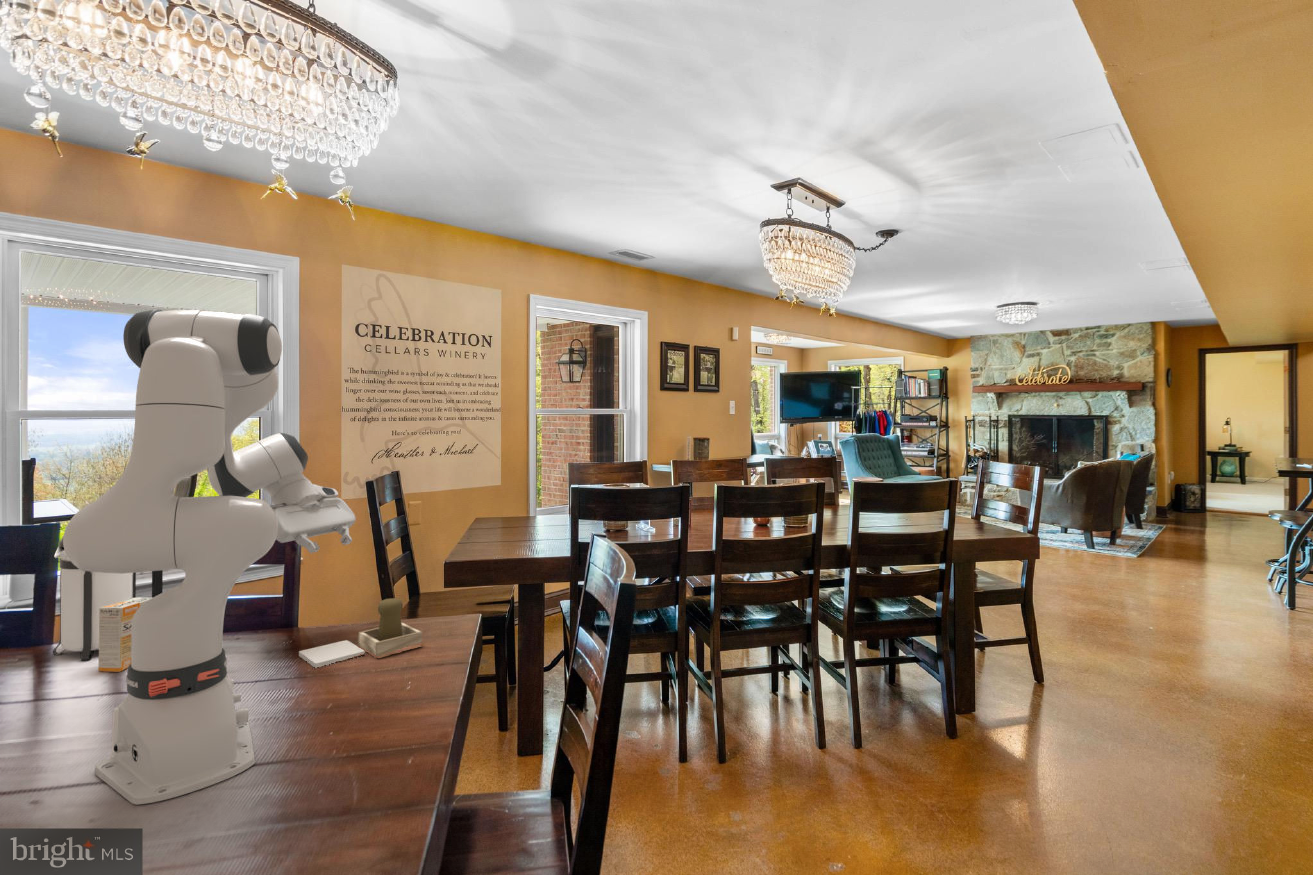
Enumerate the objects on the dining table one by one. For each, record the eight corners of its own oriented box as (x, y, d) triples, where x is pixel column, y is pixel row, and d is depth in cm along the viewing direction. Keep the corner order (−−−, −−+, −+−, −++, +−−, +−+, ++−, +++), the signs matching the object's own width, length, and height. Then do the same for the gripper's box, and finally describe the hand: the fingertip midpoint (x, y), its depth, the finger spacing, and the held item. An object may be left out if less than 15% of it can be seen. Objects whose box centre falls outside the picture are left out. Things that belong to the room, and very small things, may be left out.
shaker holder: (421, 647, 138) (422, 631, 138) (377, 659, 131) (377, 643, 131) (401, 636, 145) (401, 622, 145) (358, 647, 138) (358, 632, 138)
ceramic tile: (364, 655, 133) (364, 650, 133) (315, 668, 125) (315, 663, 125) (346, 644, 140) (346, 639, 140) (298, 655, 132) (298, 651, 132)
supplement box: (120, 672, 122) (121, 607, 122) (97, 672, 122) (97, 607, 122) (155, 657, 130) (155, 596, 130) (133, 656, 130) (134, 596, 130)
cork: (409, 643, 141) (409, 596, 141) (395, 652, 135) (396, 603, 135) (384, 642, 141) (385, 595, 141) (369, 651, 135) (370, 602, 135)
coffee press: (131, 656, 130) (132, 518, 130) (34, 666, 124) (35, 521, 124) (163, 631, 146) (164, 508, 146) (78, 639, 140) (79, 510, 140)
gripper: (266, 497, 130) (301, 546, 128) (341, 488, 150) (372, 530, 147) (250, 516, 132) (285, 565, 129) (326, 505, 151) (357, 547, 149)
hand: (332, 546), depth 138 cm, fingers open, 8 cm apart
